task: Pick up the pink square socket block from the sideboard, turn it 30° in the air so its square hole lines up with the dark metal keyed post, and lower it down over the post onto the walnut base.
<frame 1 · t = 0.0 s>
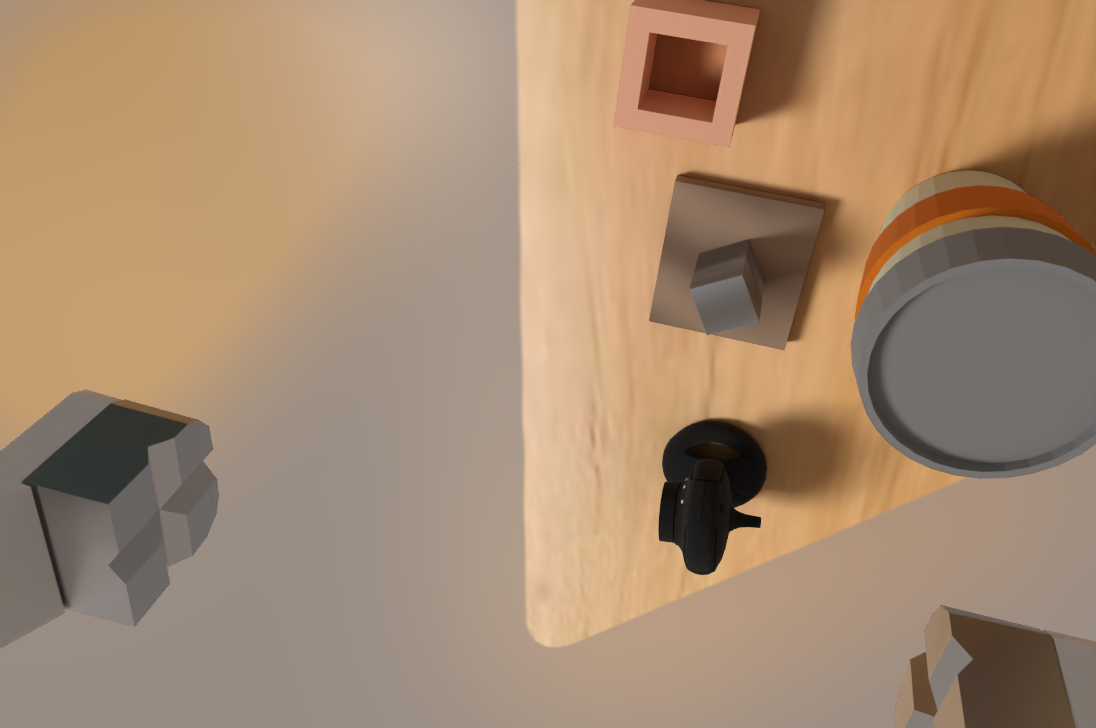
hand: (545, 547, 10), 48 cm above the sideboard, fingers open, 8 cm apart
reusable coffee cup: (957, 240, 56), on the sideboard
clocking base: (733, 261, 60), on the sideboard
pink square socket block: (690, 59, 54), on the sideboard
webcam: (714, 459, 69), on the sideboard
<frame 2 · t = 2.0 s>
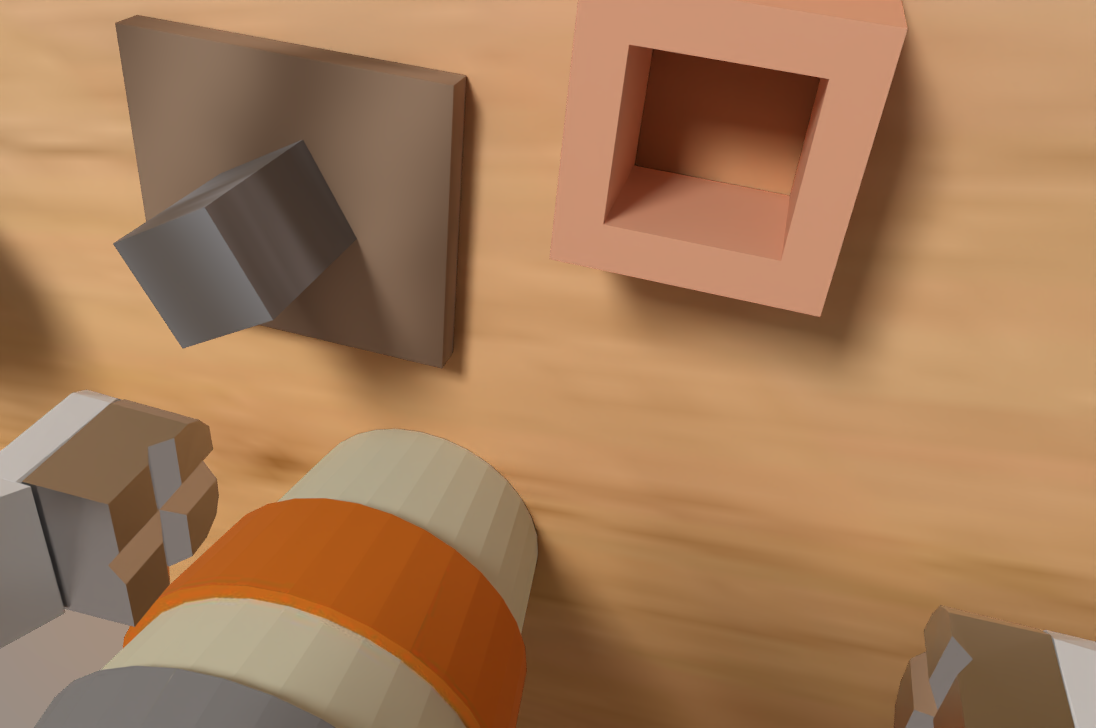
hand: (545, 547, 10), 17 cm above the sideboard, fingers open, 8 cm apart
reusable coffee cup: (425, 523, 35), on the sideboard
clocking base: (304, 193, 29), on the sideboard
pink square socket block: (727, 103, 24), on the sideboard
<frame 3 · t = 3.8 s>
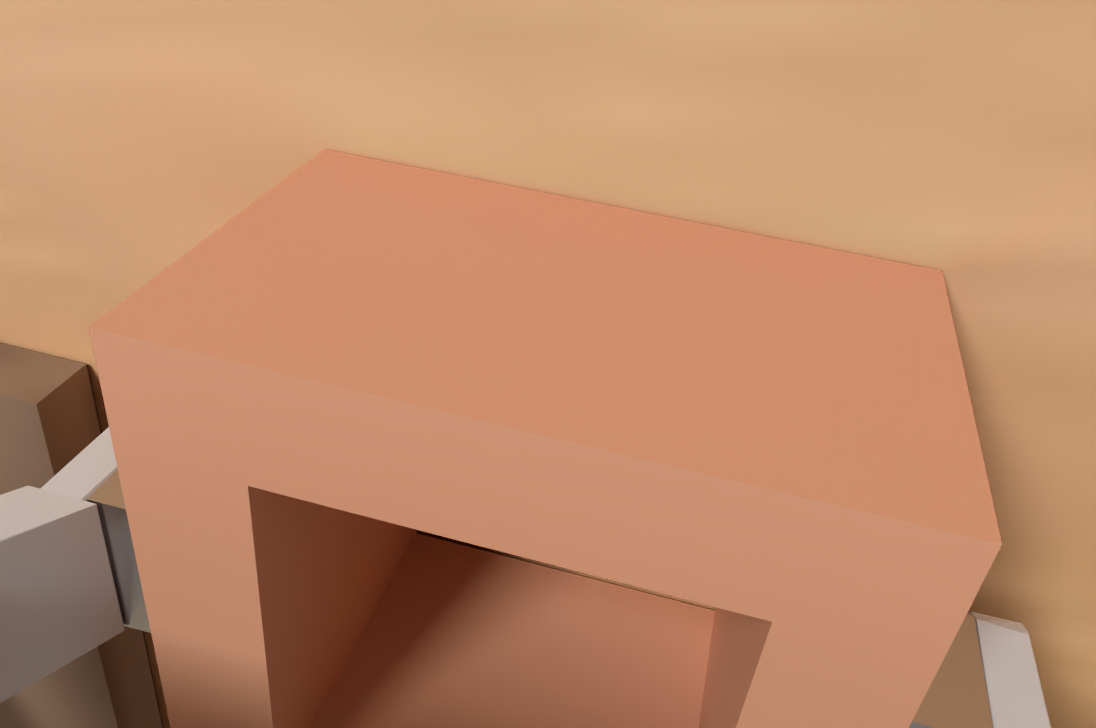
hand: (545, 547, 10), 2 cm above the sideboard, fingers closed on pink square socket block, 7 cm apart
pink square socket block: (580, 451, 12), on the sideboard, touching gripper
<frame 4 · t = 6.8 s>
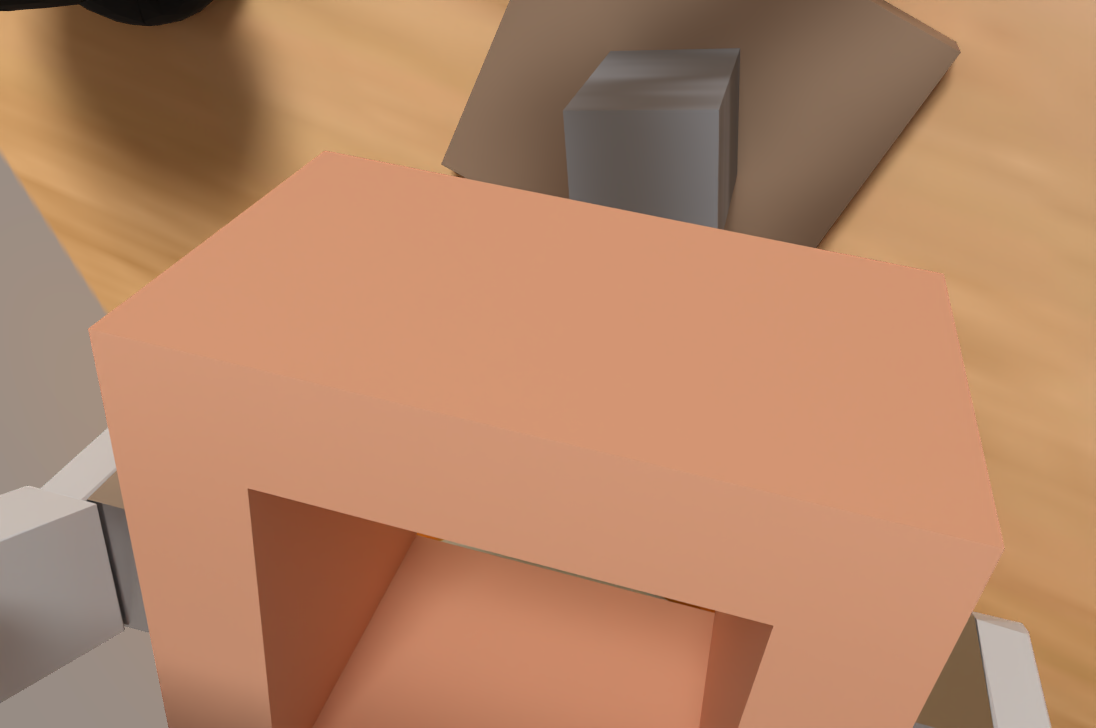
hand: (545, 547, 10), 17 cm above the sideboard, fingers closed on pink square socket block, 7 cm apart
reusable coffee cup: (606, 476, 32), on the sideboard
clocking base: (680, 102, 25), on the sideboard
pink square socket block: (580, 453, 12), point 16 cm above the sideboard, touching gripper
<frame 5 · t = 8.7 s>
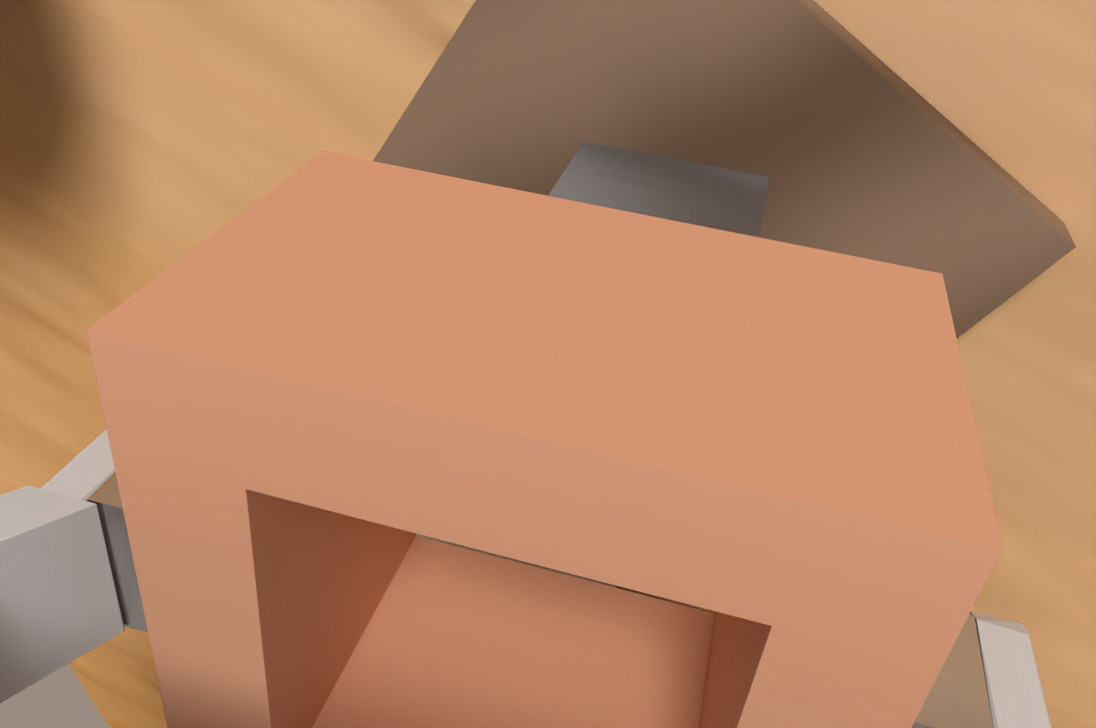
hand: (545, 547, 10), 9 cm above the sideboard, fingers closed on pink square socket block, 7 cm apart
reusable coffee cup: (489, 633, 25), on the sideboard
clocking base: (667, 221, 18), on the sideboard
pink square socket block: (579, 454, 12), point 7 cm above the sideboard, touching gripper
when the fingers open (4 cm above the sideboard, at t = 10.3 s): pink square socket block drops 1 cm, resting on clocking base.
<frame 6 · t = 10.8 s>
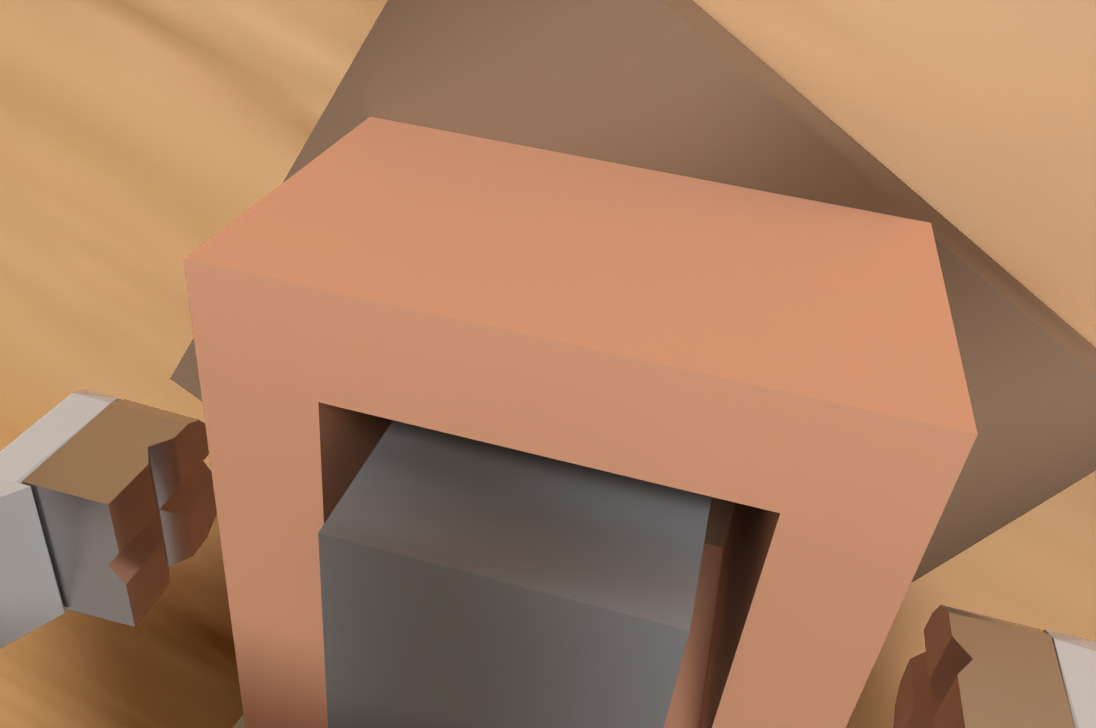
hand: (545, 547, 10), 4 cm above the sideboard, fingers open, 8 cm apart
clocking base: (610, 362, 14), on the sideboard
pink square socket block: (600, 397, 13), point 1 cm above the sideboard, touching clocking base
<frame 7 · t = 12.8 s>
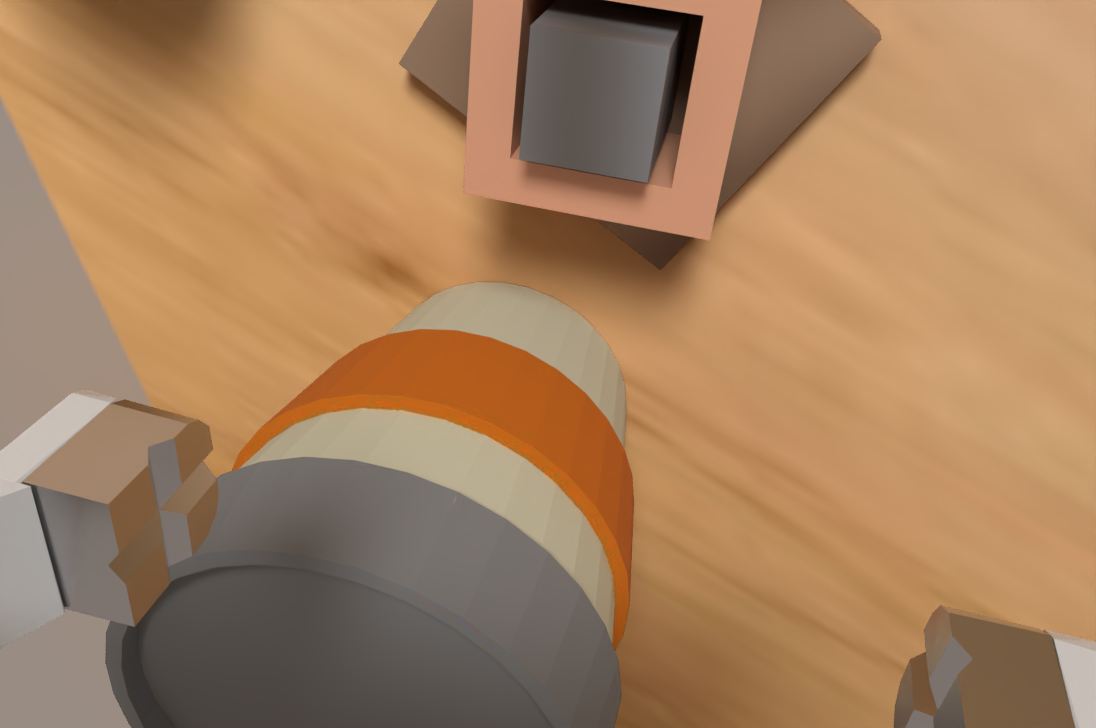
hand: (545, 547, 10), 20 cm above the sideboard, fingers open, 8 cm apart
reusable coffee cup: (507, 387, 35), on the sideboard
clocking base: (630, 43, 27), on the sideboard
pink square socket block: (626, 49, 26), point 1 cm above the sideboard, touching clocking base
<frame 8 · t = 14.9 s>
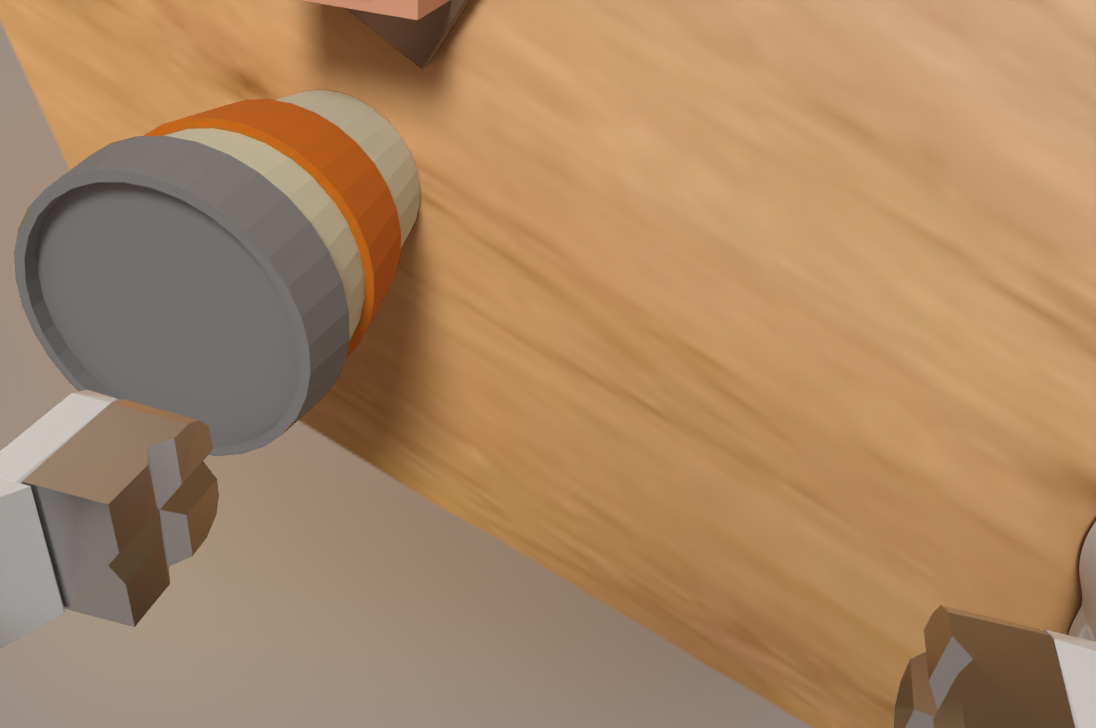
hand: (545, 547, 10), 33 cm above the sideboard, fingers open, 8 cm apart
reusable coffee cup: (338, 177, 47), on the sideboard
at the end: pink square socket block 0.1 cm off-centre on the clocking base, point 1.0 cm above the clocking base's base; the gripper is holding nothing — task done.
